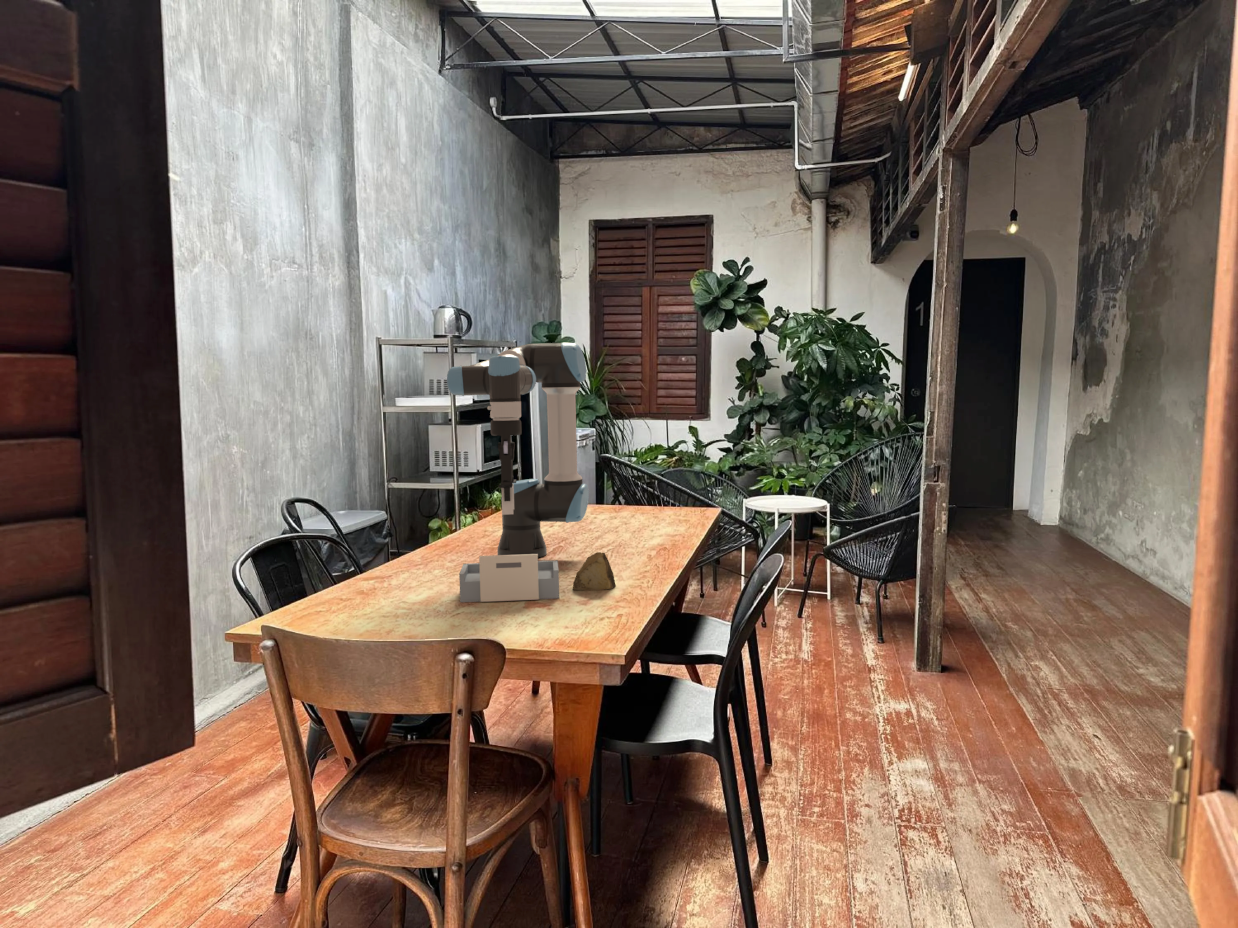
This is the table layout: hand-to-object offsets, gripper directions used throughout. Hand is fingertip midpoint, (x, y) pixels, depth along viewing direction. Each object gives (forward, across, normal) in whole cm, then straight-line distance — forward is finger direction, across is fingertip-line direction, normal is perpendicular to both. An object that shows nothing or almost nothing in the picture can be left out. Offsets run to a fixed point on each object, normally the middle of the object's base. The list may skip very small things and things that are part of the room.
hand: (508, 511), depth 210 cm
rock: (+21, -4, +21) cm, 30 cm away
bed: (+21, -1, 0) cm, 21 cm away
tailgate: (+21, +6, 0) cm, 22 cm away
